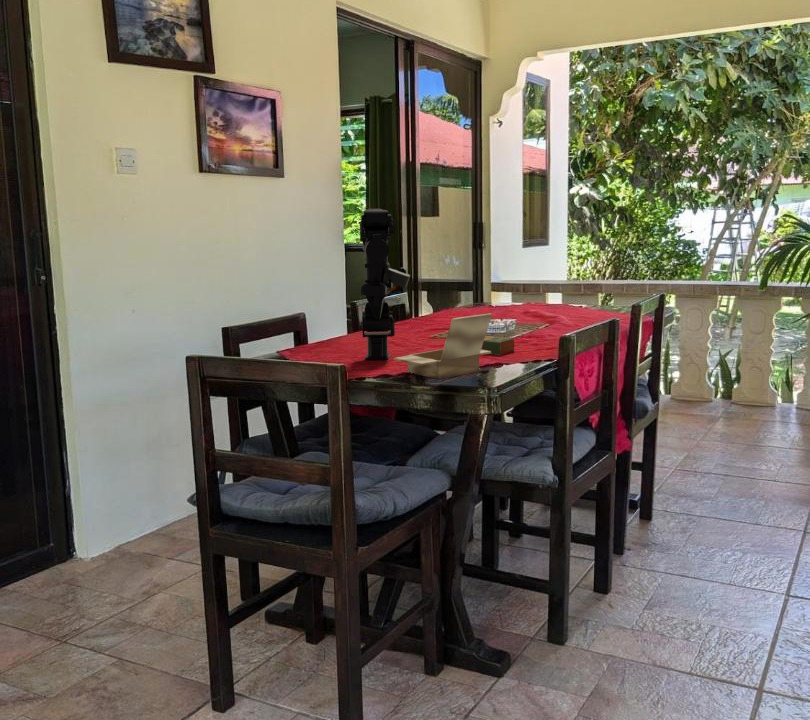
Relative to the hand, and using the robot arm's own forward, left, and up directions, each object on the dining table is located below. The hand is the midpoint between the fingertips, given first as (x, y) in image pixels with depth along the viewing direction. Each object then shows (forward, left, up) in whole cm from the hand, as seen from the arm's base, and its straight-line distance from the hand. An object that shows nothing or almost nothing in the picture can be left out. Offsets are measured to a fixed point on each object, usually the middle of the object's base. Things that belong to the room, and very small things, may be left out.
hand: (378, 319), depth 221 cm
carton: (-26, +28, -14) cm, 40 cm away
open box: (+5, +17, -13) cm, 22 cm away
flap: (+11, +23, -3) cm, 26 cm away
